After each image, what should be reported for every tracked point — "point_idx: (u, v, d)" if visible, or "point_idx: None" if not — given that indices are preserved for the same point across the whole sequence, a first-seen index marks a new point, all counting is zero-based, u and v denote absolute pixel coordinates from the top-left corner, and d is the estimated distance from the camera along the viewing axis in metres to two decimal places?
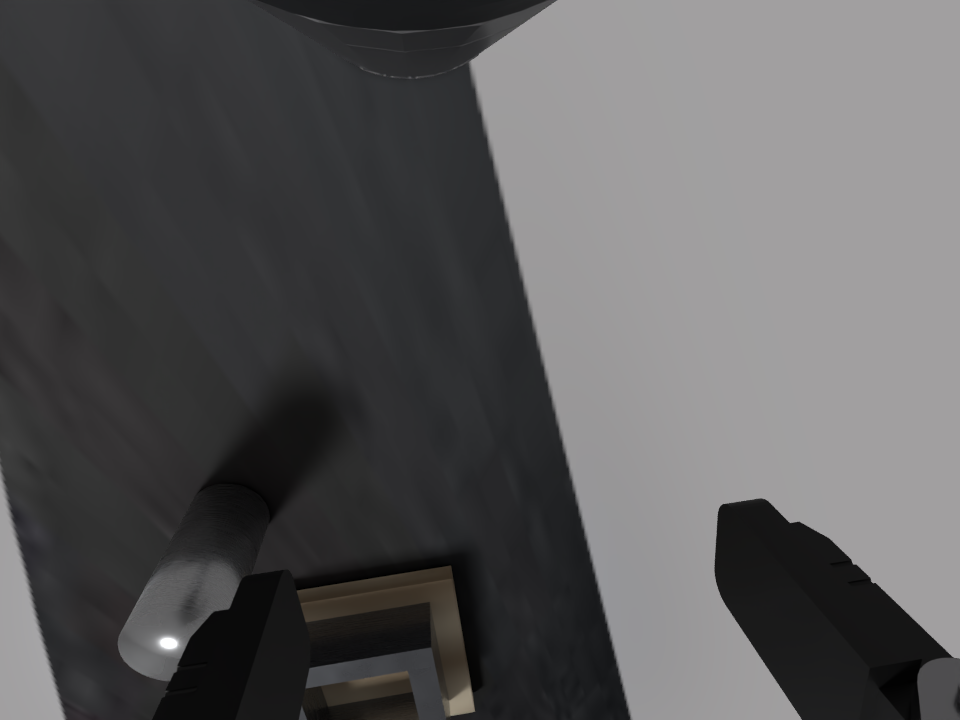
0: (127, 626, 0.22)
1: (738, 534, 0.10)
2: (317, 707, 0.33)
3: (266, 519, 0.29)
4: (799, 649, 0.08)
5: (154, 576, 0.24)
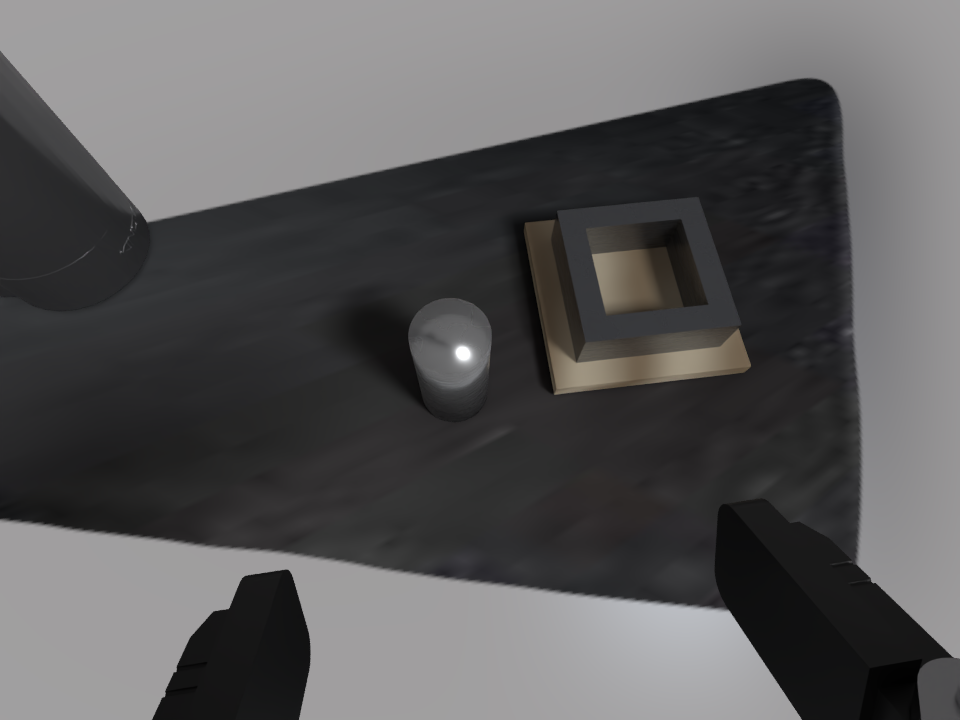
0: (420, 361, 0.26)
1: (738, 534, 0.10)
2: None
3: None
4: (799, 650, 0.08)
5: (420, 376, 0.29)
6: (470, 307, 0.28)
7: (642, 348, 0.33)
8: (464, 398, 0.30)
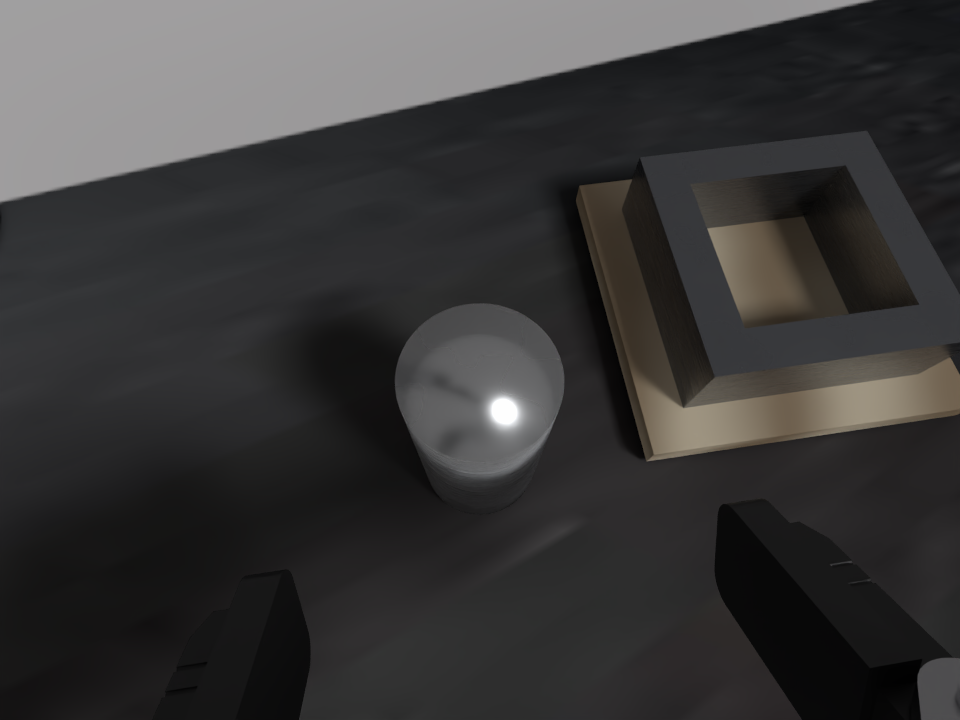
0: (421, 436, 0.13)
1: (738, 534, 0.10)
2: None
3: None
4: (799, 650, 0.08)
5: (421, 455, 0.15)
6: (516, 322, 0.14)
7: (799, 382, 0.20)
8: (504, 489, 0.16)
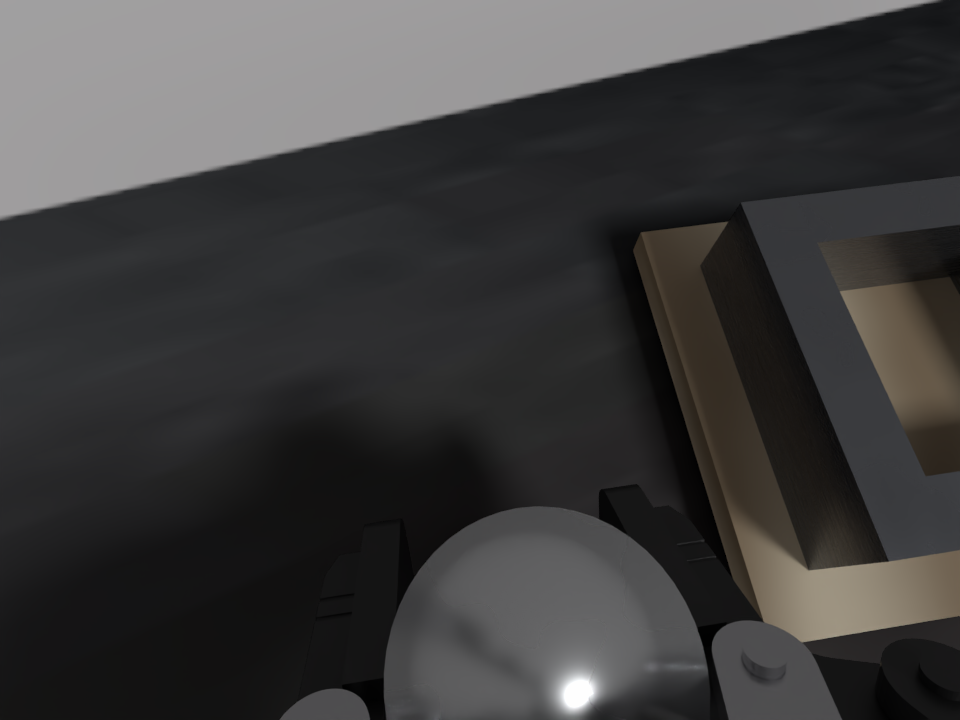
0: None
1: (609, 517, 0.11)
2: None
3: None
4: None
5: None
6: (610, 547, 0.08)
7: None
8: None
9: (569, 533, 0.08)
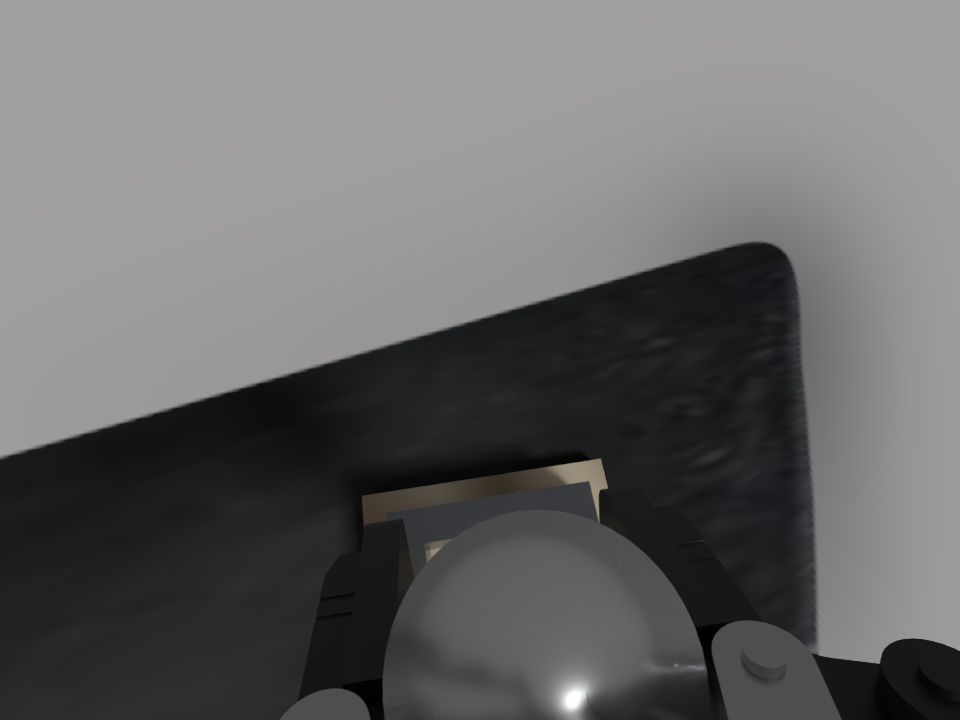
0: None
1: (610, 517, 0.11)
2: None
3: None
4: None
5: None
6: (609, 550, 0.08)
7: None
8: None
9: (568, 536, 0.08)
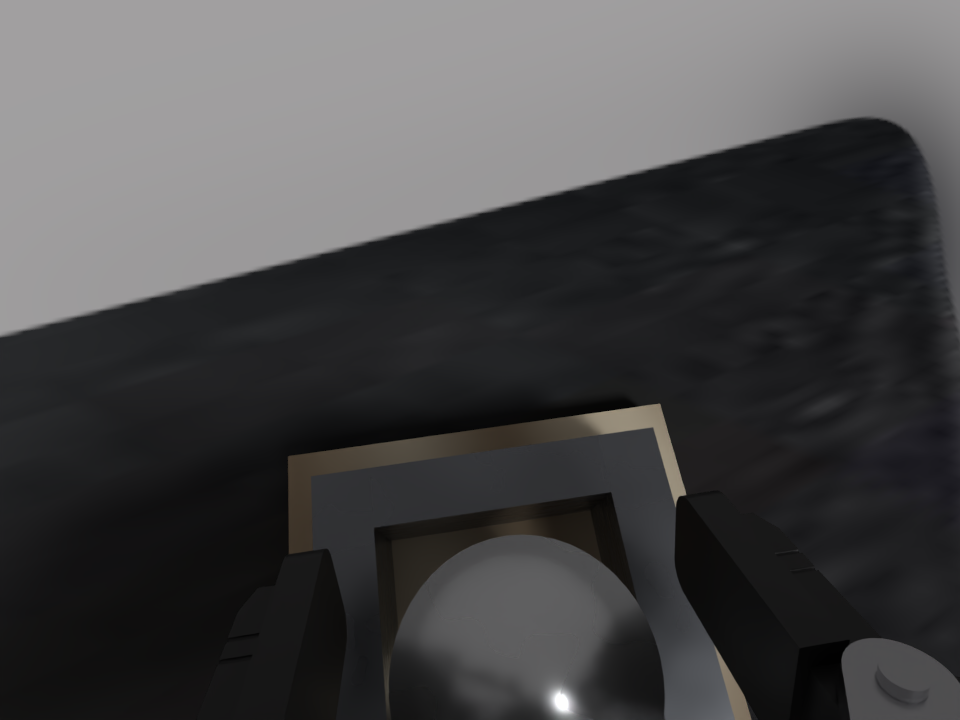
0: None
1: (692, 525, 0.10)
2: None
3: None
4: (743, 633, 0.09)
5: None
6: (584, 571, 0.09)
7: None
8: None
9: (549, 558, 0.09)
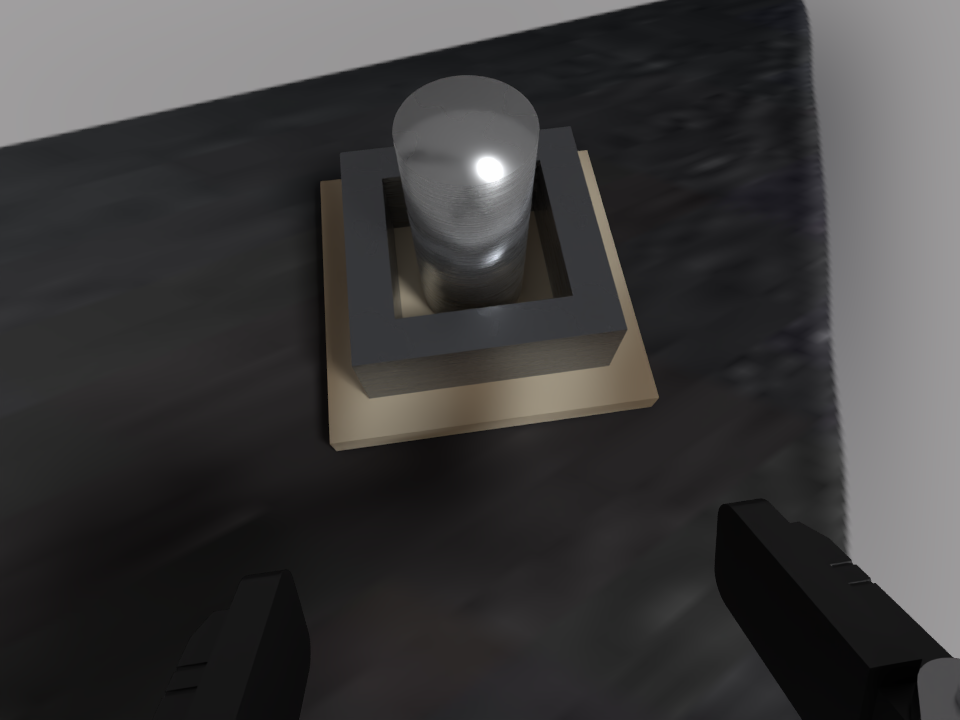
0: (414, 167, 0.15)
1: (738, 534, 0.10)
2: None
3: None
4: (799, 650, 0.08)
5: (416, 218, 0.17)
6: (500, 88, 0.16)
7: (470, 372, 0.20)
8: (489, 266, 0.18)
9: (481, 84, 0.16)
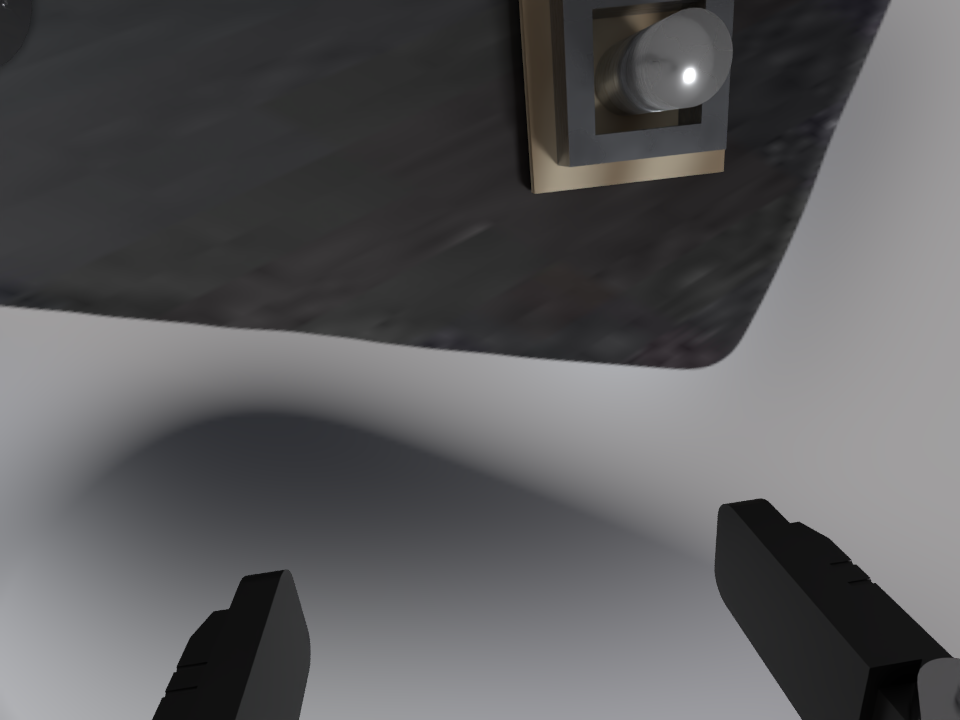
0: (656, 91, 0.26)
1: (738, 534, 0.10)
2: None
3: None
4: (799, 650, 0.08)
5: (634, 92, 0.28)
6: (715, 23, 0.25)
7: None
8: None
9: (705, 18, 0.25)
